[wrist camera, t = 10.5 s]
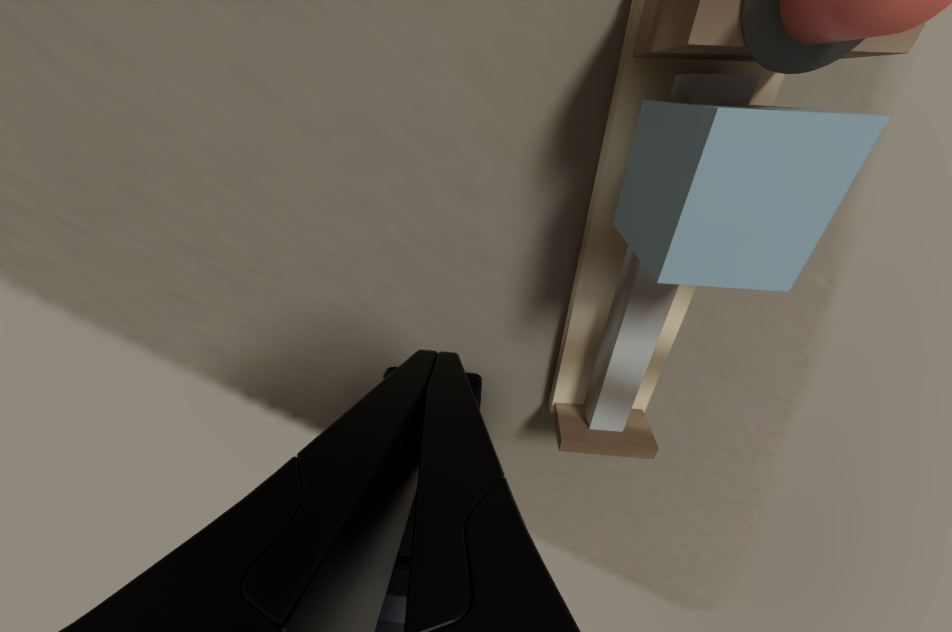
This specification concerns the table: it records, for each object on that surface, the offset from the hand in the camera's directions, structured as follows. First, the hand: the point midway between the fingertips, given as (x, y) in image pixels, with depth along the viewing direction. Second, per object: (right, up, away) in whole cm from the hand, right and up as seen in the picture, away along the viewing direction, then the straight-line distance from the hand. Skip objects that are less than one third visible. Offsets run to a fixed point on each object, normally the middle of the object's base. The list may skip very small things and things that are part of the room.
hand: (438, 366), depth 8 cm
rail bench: (+9, +4, +11) cm, 15 cm away
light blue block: (+9, +7, +8) cm, 14 cm away
